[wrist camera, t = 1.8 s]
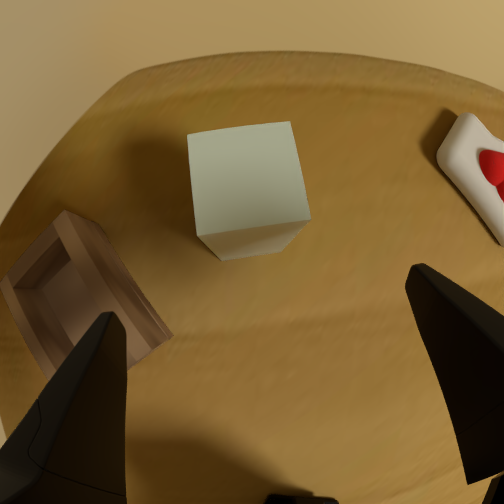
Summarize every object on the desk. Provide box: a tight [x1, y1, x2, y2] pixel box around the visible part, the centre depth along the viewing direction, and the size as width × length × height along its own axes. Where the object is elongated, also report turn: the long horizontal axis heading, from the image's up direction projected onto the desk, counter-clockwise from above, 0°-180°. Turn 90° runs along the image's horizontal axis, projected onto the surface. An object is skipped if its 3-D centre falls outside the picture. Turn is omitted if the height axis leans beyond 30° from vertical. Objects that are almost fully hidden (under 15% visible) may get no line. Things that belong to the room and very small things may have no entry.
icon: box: [436, 113, 504, 247], centre depth 20 cm, size 12×4×10 cm
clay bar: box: [187, 121, 311, 261], centre depth 15 cm, size 4×4×10 cm
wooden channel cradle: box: [0, 210, 174, 381], centre depth 17 cm, size 10×8×5 cm
